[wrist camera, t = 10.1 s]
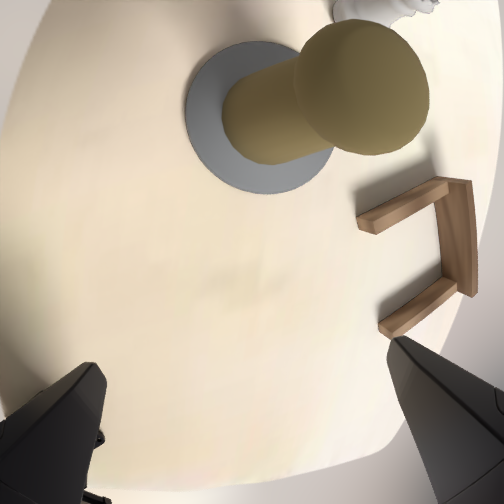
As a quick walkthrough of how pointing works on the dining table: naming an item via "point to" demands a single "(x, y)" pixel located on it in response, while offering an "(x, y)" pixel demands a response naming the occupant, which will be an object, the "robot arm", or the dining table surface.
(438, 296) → the holder
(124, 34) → the dining table surface
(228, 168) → the coaster
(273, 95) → the cork
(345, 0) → the rook chess piece
